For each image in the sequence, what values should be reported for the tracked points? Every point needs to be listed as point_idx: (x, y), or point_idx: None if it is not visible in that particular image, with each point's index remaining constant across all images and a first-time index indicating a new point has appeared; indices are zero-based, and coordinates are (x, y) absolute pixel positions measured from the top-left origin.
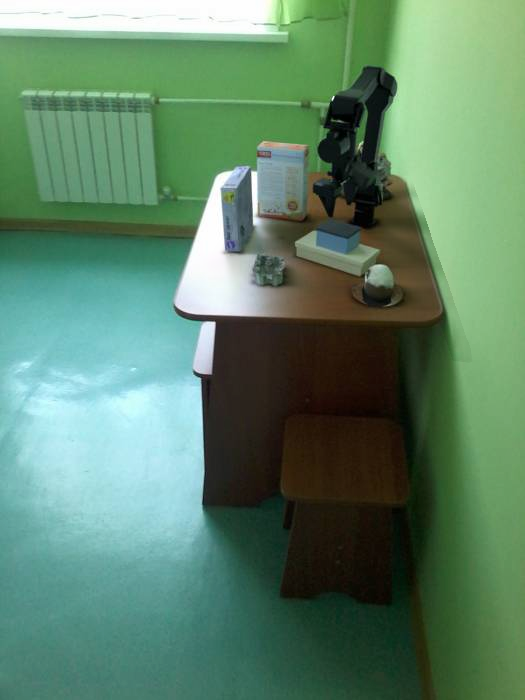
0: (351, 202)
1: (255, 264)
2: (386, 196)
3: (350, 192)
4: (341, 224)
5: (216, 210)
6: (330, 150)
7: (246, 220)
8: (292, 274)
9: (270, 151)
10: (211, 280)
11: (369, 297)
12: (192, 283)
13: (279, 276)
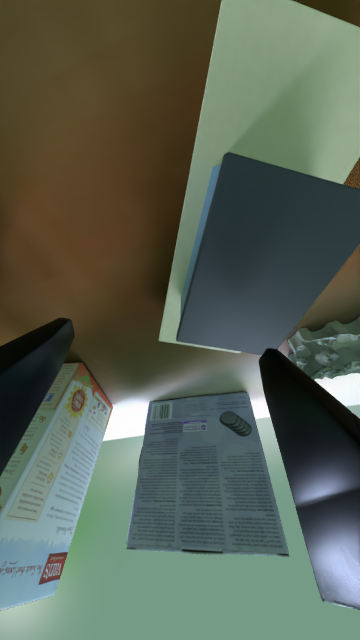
0: (51, 326)
1: (334, 373)
2: None
3: (5, 401)
4: (220, 287)
5: (130, 433)
6: None
7: (202, 431)
8: (322, 307)
9: (39, 583)
10: (341, 390)
11: None
12: (349, 401)
13: None
